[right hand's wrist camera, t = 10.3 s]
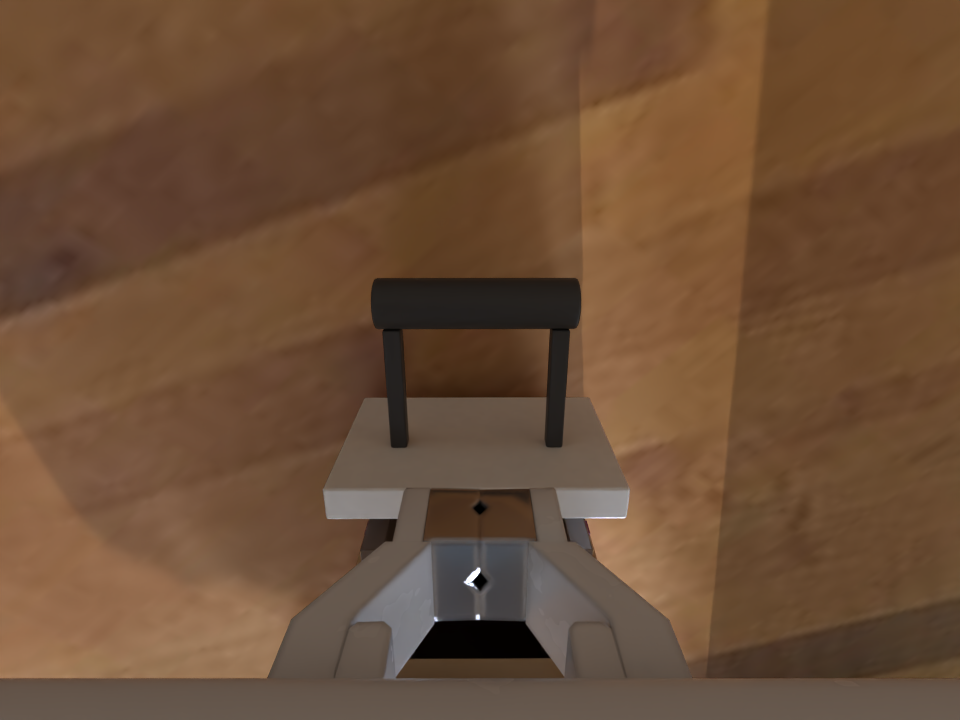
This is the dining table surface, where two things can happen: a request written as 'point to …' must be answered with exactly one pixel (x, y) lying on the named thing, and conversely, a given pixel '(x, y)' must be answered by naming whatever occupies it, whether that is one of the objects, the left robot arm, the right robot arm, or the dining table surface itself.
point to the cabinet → (481, 664)
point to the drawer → (475, 435)
